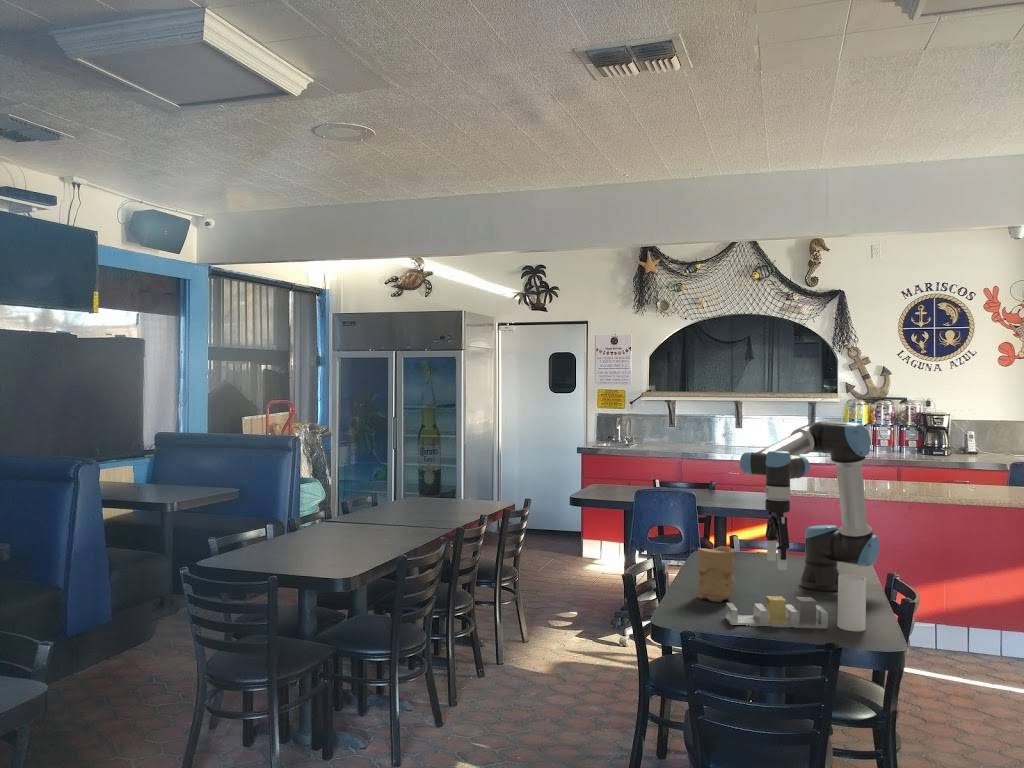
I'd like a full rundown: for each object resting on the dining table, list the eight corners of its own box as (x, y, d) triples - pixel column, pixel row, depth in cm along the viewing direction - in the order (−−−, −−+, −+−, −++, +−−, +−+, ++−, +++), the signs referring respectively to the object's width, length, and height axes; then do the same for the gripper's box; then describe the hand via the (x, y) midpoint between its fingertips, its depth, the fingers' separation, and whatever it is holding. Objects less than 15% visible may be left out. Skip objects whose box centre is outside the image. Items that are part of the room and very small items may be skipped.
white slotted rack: (818, 620, 275) (819, 596, 275) (827, 628, 266) (828, 603, 266) (725, 617, 277) (726, 593, 277) (731, 625, 268) (731, 600, 268)
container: (690, 596, 304) (691, 546, 304) (719, 593, 309) (719, 544, 309) (711, 605, 293) (712, 553, 293) (741, 602, 298) (741, 551, 298)
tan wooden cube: (781, 618, 274) (781, 596, 274) (785, 622, 269) (785, 600, 269) (765, 617, 274) (766, 596, 274) (769, 621, 270) (769, 599, 269)
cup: (832, 624, 272) (833, 574, 272) (857, 623, 272) (858, 574, 272) (845, 631, 264) (845, 580, 263) (870, 631, 264) (871, 580, 264)
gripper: (756, 493, 285) (756, 556, 285) (775, 504, 260) (774, 573, 260) (779, 494, 284) (778, 557, 284) (800, 504, 259) (799, 574, 259)
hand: (776, 565), depth 272 cm, fingers open, 13 cm apart
